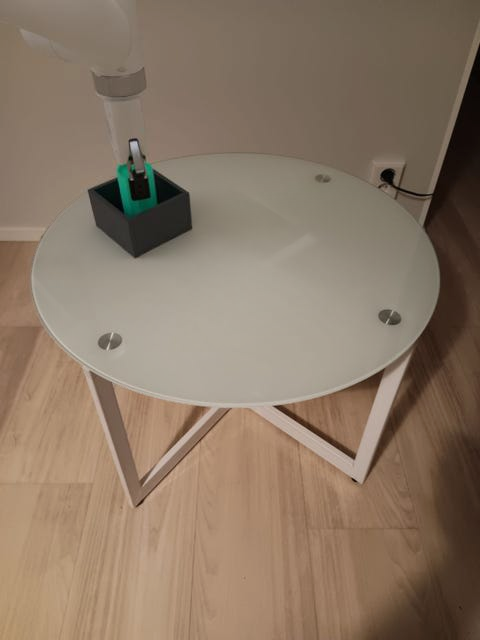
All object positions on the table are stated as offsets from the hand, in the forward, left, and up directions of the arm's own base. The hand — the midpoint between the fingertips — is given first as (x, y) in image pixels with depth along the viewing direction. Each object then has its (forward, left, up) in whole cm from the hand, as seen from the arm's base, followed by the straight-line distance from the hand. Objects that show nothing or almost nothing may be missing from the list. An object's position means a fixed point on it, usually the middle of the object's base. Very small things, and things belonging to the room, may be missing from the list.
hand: (137, 187), depth 87 cm
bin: (0, 0, -8) cm, 8 cm away
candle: (0, 0, -7) cm, 7 cm away
